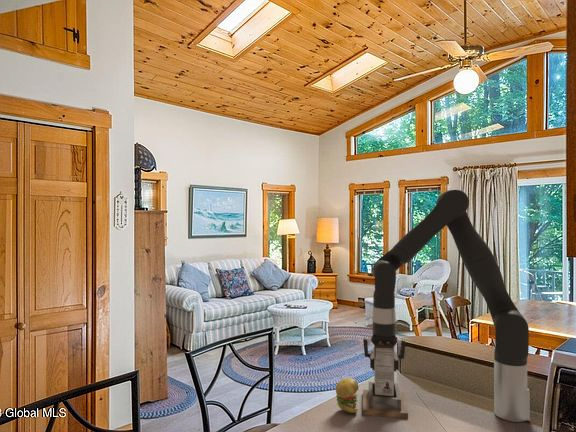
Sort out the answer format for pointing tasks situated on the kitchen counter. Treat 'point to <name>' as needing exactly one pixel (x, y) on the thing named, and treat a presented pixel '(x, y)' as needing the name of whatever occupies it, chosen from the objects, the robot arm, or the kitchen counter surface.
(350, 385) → the hamburger
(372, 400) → the socket stand
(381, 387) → the coffee box
